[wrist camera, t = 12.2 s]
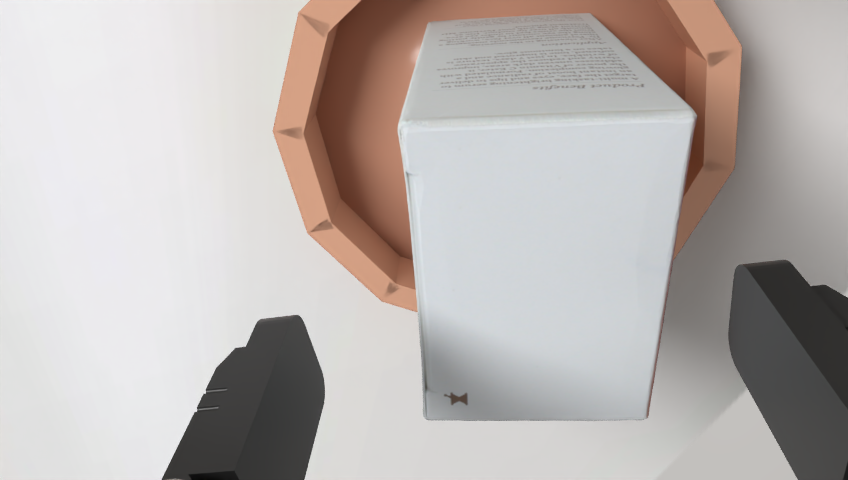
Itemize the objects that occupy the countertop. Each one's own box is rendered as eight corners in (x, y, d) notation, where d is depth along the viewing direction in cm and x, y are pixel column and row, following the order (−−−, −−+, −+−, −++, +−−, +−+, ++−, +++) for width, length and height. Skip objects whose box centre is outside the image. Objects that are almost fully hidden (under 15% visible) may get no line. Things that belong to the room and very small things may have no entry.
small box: (578, 221, 24) (651, 430, 15) (436, 226, 24) (422, 430, 15) (595, 6, 20) (710, 110, 11) (424, 16, 20) (395, 123, 11)
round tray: (240, -53, 20) (212, -45, 18) (717, -162, 18) (755, -169, 15) (355, 308, 27) (346, 346, 25) (702, 262, 25) (726, 299, 23)
